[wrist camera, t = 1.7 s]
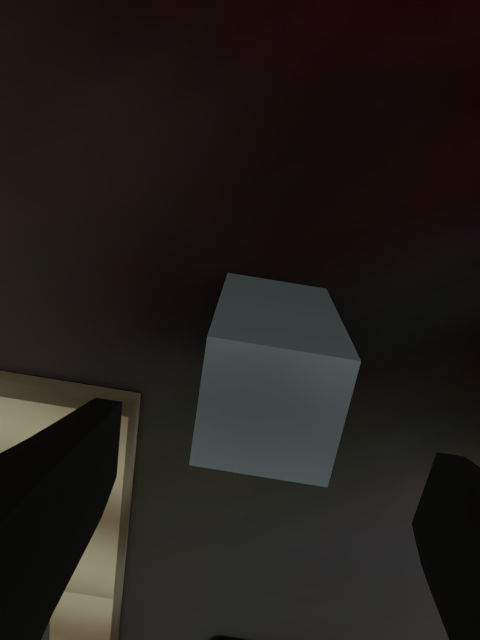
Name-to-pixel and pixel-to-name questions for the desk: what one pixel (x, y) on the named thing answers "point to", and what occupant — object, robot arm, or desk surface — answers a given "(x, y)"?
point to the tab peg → (274, 382)
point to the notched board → (112, 531)
